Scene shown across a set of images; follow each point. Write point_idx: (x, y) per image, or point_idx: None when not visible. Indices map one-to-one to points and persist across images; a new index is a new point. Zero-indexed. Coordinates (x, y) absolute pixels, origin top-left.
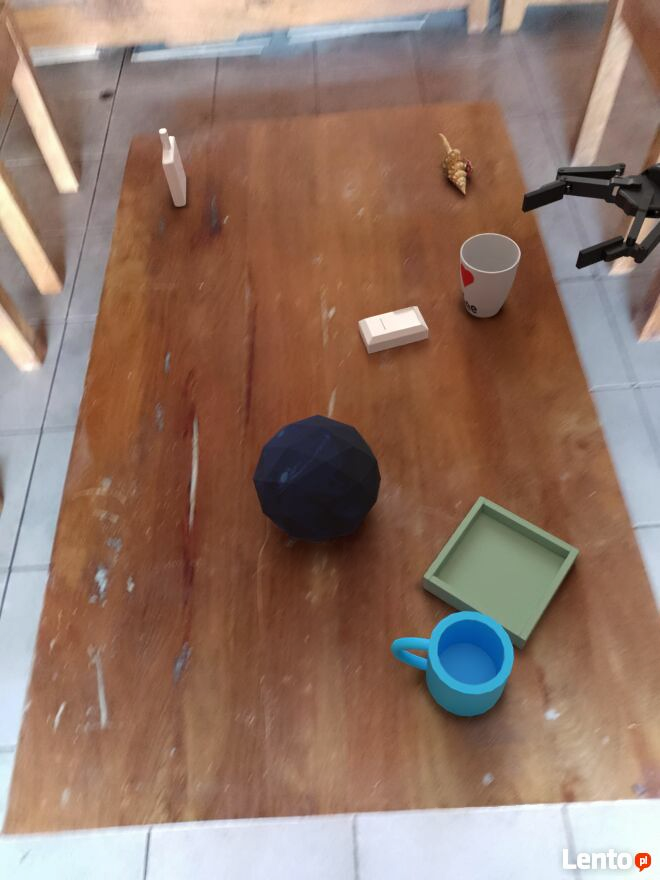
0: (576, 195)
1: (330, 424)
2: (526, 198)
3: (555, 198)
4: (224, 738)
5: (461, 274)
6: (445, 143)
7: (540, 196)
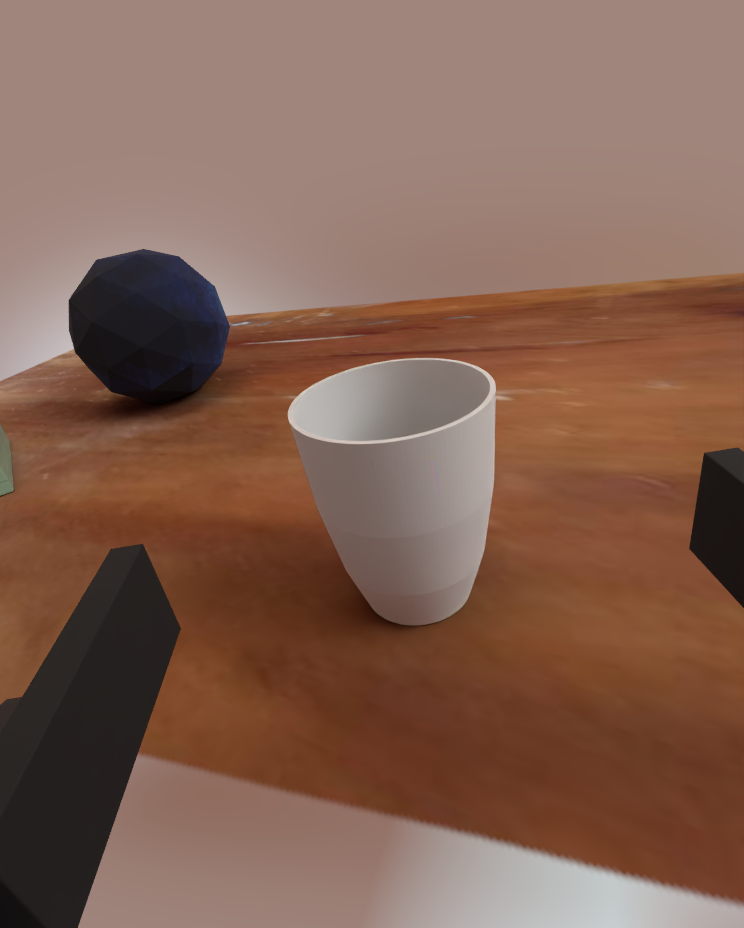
0: None
1: (145, 268)
2: (705, 461)
3: None
4: (66, 366)
5: (407, 419)
6: None
7: None
